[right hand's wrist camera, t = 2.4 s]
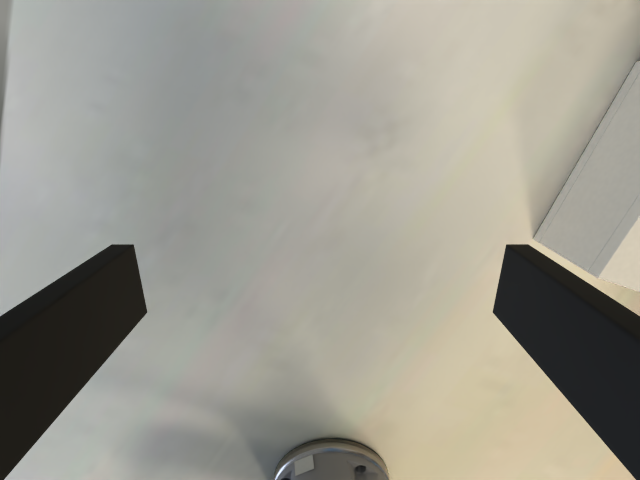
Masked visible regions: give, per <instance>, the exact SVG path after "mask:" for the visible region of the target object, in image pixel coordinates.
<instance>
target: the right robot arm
mask: <svg viewBox="0 0 640 480" xmlns="http://www.w3.org/2000/svg"><path fill="white" fill-rule="evenodd" d="M146 313H147V309H146V304H145V299H144V294H143V289H142V284H141V279H140V274H139V269H138V264H137V259H136V254H135V249H134V245H110V246H109V247H107V248H106V249H104V250H103V251H101V252H100V253H98V254H96V255H95V256H93V257H92V258H90V259H89V260H87V261H86V262H84V263H82V264H81V265H79V266H78V267H76V268H75V269H73V270H72V271H70V272H69V273H67V274H65V275H64V276H62V277H61V278H59V279H58V280H56V281H55V282H53V283H51V284H50V285H48V286H47V287H45V288H44V289H42V290H41V291H39V292H37V293H36V294H34V295H33V296H31V297H30V298H28V299H27V300H25V301H23V302H22V303H20V304H19V305H17V306H16V307H14V308H13V309H11V310H9V311H8V312H6V313H5V314H3V315H2V316H0V480H4V479H5V478H6V477H7V475H8V474H9V473H10V472H11V471H12V470H13V468H14V467H15V466H16V465H17V464H18V463H19V461H20V460H21V459H22V458H23V457H24V456H25V454H26V453H27V452H28V451H29V450H30V449H31V447H32V446H33V445H34V444H35V443H36V442H37V440H38V439H39V438H40V437H41V436H42V435H43V433H44V432H45V431H46V430H47V429H48V428H49V426H50V425H51V424H52V423H53V422H54V421H55V419H56V418H57V417H58V416H59V415H60V414H61V412H62V411H63V410H64V409H65V408H66V407H67V405H68V404H69V403H70V402H71V401H72V399H73V398H74V397H75V396H76V395H77V394H78V392H79V391H80V390H81V389H82V388H83V387H84V385H85V384H86V383H87V382H88V381H89V380H90V378H91V377H92V376H93V375H94V374H95V373H96V371H97V370H98V369H99V368H100V367H101V366H102V364H103V363H104V362H105V361H106V360H107V359H108V357H109V356H110V355H111V354H112V353H113V352H114V350H115V349H116V348H117V347H118V346H119V345H120V343H121V342H122V341H123V340H124V339H125V338H126V336H127V335H128V334H129V333H130V332H131V331H132V329H133V328H134V327H135V326H136V325H137V324H138V322H139V321H140V320H141V319H142V318H143V317H144V315H145V314H146ZM493 313H494V314H495V315H496V317H497V318H498V319H499V320H500V321H501V322H502V324H503V325H504V326H505V327H506V328H507V329H508V331H509V332H510V333H511V334H512V335H513V336H514V338H515V339H516V340H517V341H518V342H519V343H520V345H521V346H522V347H523V348H524V349H525V350H526V352H527V353H528V354H529V355H530V356H531V357H532V359H533V360H534V361H535V362H536V363H537V364H538V366H539V367H540V368H541V369H542V370H543V371H544V373H545V374H546V375H547V376H548V377H549V378H550V380H551V381H552V382H553V383H554V384H555V385H556V387H557V388H558V389H559V390H560V391H561V392H562V394H563V395H564V396H565V397H566V398H567V399H568V401H569V402H570V403H571V404H572V405H573V407H574V408H575V409H576V410H577V411H578V412H579V414H580V415H581V416H582V417H583V418H584V419H585V421H586V422H587V423H588V424H589V425H590V426H591V428H592V429H593V430H594V431H595V432H596V433H597V435H598V436H599V437H600V438H601V439H602V440H603V442H604V443H605V444H606V445H607V446H608V447H609V449H610V450H611V451H612V452H613V453H614V454H615V456H616V457H617V458H618V459H619V460H620V461H621V463H622V464H623V465H624V466H625V467H626V468H627V470H628V471H629V472H630V473H631V474H632V475H633V477H634V478H635V479H636V480H640V316H638V315H637V314H635V313H634V312H632V311H631V310H629V309H627V308H626V307H624V306H623V305H621V304H620V303H618V302H617V301H615V300H613V299H612V298H610V297H609V296H607V295H606V294H604V293H603V292H601V291H599V290H598V289H596V288H595V287H593V286H592V285H590V284H589V283H587V282H585V281H584V280H582V279H581V278H579V277H578V276H576V275H575V274H573V273H571V272H570V271H568V270H567V269H565V268H564V267H562V266H561V265H559V264H558V263H556V262H554V261H553V260H551V259H550V258H548V257H547V256H545V255H544V254H542V253H540V252H539V251H537V250H536V249H534V248H533V247H531V246H530V245H506V249H505V254H504V259H503V264H502V269H501V274H500V279H499V284H498V289H497V294H496V299H495V304H494V309H493ZM274 480H389V476H388V471H387V468H386V466H385V464H384V462H383V461H382V459H381V458H380V457H379V456H378V455H377V454H376V453H375V452H373V451H372V450H370V449H369V448H367V447H365V446H363V445H361V444H358V443H355V442H352V441H347V440H340V439H324V440H317V441H312V442H309V443H306V444H303V445H301V446H299V447H297V448H295V449H293V450H292V451H290V452H289V453H288V454H287V455H285V456H284V457H283V459H282V460H281V461H280V462H279V464H278V466H277V468H276V470H275V474H274Z"/></svg>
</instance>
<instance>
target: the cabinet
mask: <svg viewBox="0 0 640 480" xmlns="http://www.w3.org/2000/svg"><path fill="white" fill-rule="evenodd" d="M533 240H535V241H537V242H538V243H540V244H542V245H543V246H545V247H547V248H548V249H550V250H552V251H553V252H555V253H557V254H558V255H560V256H562V257H563V258H565V259H567V260H568V261H570V262H572V263H573V264H575V265H577V266H578V267H580V268H582V269H583V270H585V271H587V272H588V273H590V274H591V275H593V276H595V277H596V278H599V279H602V280H605V281H608V282H611V283H614V284H617V285H620V286H623V287H626V288H629V289H632V290H635V291H638V292H640V61H636V63H635V65H634V66H633V68H632V70H631V71H630V73H629V75H628V77H627V78H626V80H625V82H624V83H623V85H622V87H621V89H620V90H619V92H618V94H617V96H616V97H615V99H614V101H613V102H612V104H611V106H610V108H609V109H608V111H607V113H606V114H605V116H604V118H603V120H602V121H601V123H600V125H599V126H598V128H597V130H596V132H595V133H594V135H593V137H592V139H591V140H590V142H589V144H588V145H587V147H586V149H585V151H584V152H583V154H582V156H581V157H580V159H579V161H578V163H577V164H576V166H575V168H574V170H573V171H572V173H571V175H570V176H569V178H568V180H567V182H566V183H565V185H564V187H563V188H562V190H561V192H560V194H559V195H558V197H557V199H556V200H555V202H554V204H553V206H552V207H551V209H550V211H549V213H548V214H547V216H546V218H545V219H544V221H543V223H542V225H541V226H540V228H539V230H538V231H537V233H536V235H535V237H534V238H533Z"/></svg>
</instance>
